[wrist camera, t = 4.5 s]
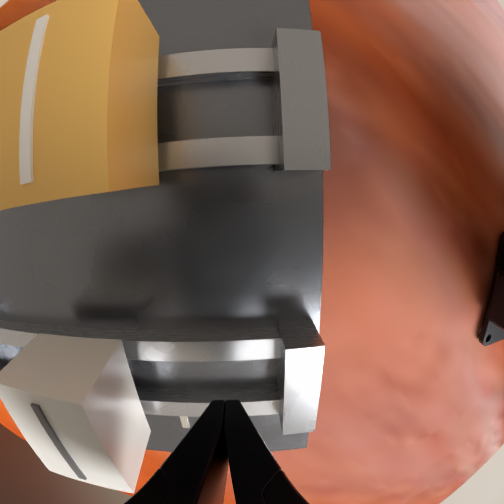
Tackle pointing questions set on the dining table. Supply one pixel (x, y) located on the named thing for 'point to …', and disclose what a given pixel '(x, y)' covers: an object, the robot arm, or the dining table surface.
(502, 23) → the dining table surface
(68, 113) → the fader amber
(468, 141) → the dining table surface
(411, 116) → the dining table surface
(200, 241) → the console
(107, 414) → the fader ivory
